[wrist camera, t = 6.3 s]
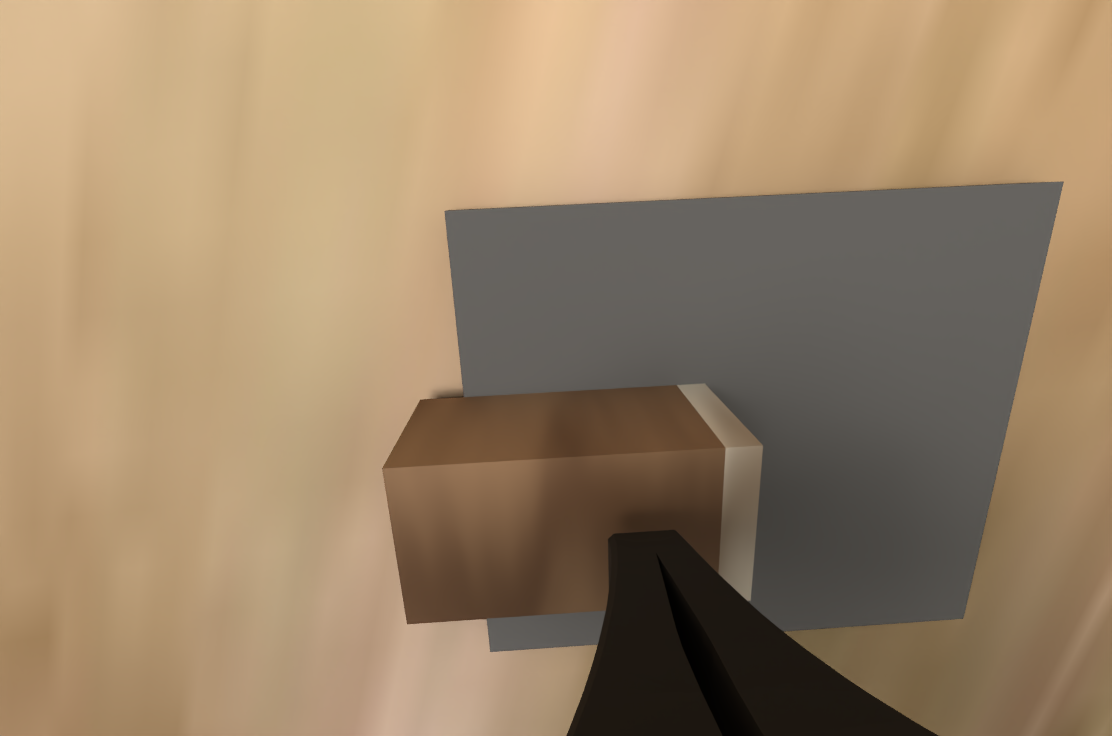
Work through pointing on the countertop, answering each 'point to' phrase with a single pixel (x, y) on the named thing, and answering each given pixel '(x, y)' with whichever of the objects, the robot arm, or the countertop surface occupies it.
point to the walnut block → (563, 495)
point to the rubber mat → (786, 366)
